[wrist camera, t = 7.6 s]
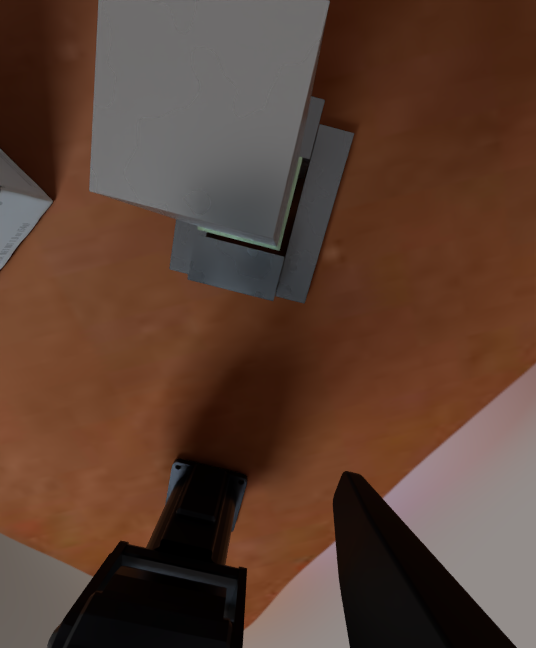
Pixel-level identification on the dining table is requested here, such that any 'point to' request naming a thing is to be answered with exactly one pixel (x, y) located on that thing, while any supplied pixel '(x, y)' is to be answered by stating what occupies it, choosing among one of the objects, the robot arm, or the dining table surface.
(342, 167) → the grey square frame
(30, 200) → the tea box
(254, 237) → the grey rectangular block
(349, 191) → the dining table surface
